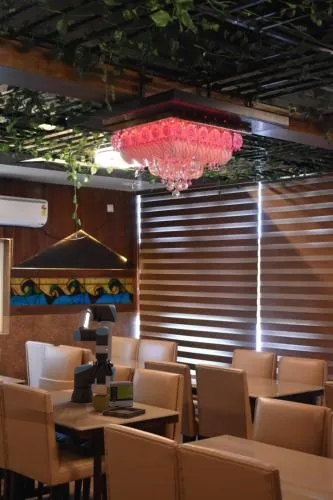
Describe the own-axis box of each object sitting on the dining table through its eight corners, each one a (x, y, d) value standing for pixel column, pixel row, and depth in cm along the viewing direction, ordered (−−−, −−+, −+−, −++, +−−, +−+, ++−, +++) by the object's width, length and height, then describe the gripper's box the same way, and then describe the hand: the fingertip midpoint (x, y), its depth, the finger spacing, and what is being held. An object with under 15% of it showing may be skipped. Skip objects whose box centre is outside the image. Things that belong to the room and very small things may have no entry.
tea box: (129, 403, 426) (129, 380, 427) (133, 406, 417) (133, 382, 418) (106, 404, 422) (106, 381, 422) (109, 407, 412) (110, 383, 413)
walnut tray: (102, 414, 388) (102, 410, 388) (120, 410, 403) (120, 406, 403) (127, 418, 378) (128, 413, 378) (145, 413, 393) (145, 409, 394)
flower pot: (105, 412, 396) (105, 397, 396) (91, 411, 397) (91, 396, 398) (109, 409, 404) (110, 394, 405) (95, 409, 406) (96, 394, 407)
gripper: (93, 354, 390) (93, 390, 389) (118, 351, 411) (118, 386, 410) (83, 353, 394) (83, 389, 393) (109, 350, 415) (108, 385, 414)
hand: (101, 388), depth 401 cm, fingers open, 13 cm apart
